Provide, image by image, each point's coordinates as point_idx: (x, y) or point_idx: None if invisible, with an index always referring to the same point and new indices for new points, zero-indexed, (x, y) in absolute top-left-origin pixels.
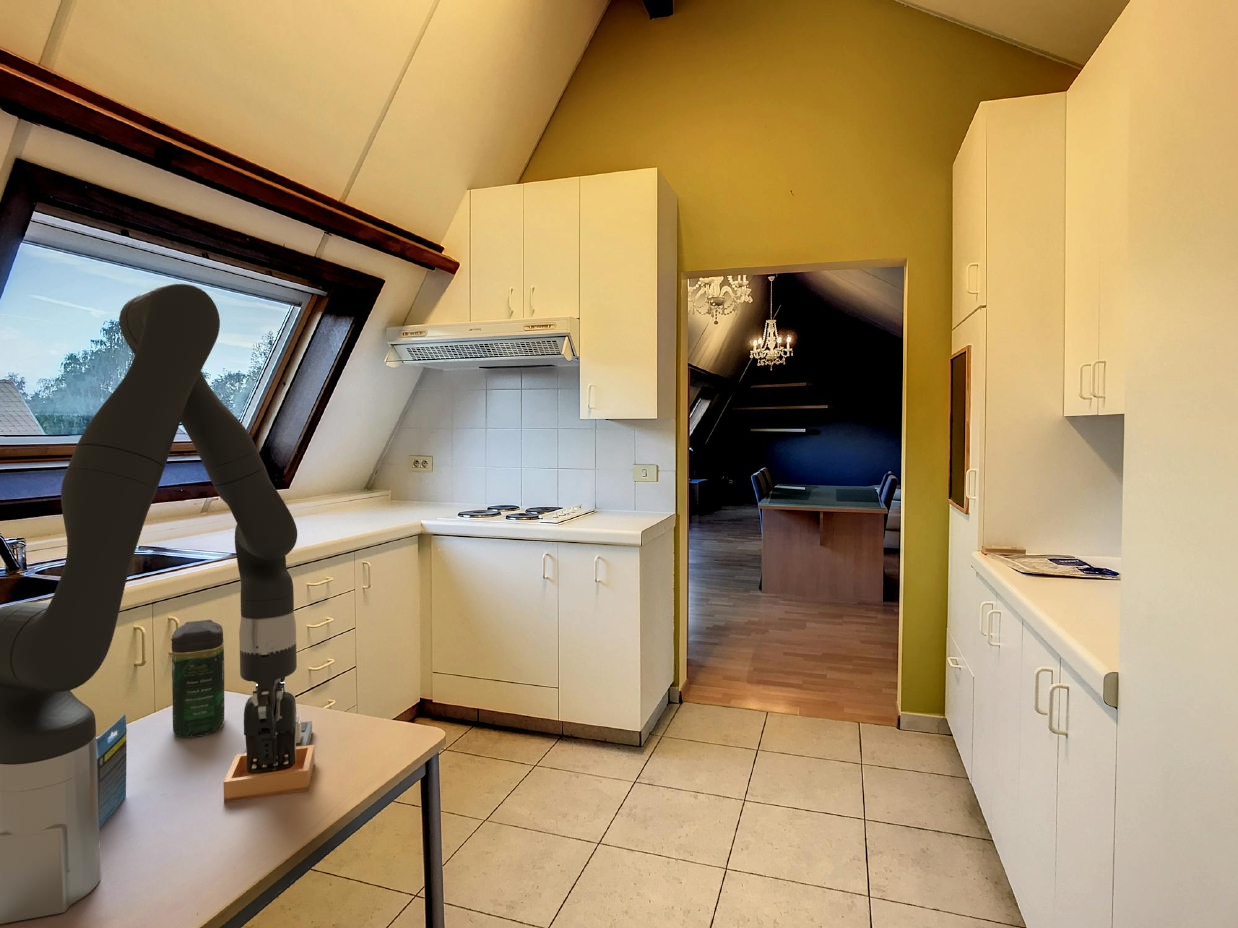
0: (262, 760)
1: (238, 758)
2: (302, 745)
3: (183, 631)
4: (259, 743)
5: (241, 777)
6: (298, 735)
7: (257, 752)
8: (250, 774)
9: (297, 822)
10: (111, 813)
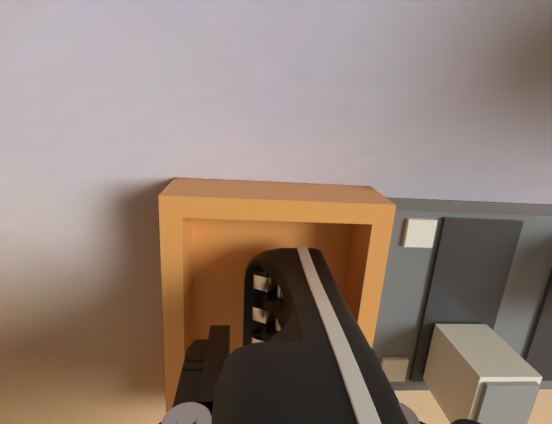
0: (192, 343)
1: (355, 218)
2: (408, 382)
3: None
4: (201, 384)
5: (180, 252)
6: (437, 396)
7: (284, 314)
8: (320, 236)
9: (6, 377)
10: None
